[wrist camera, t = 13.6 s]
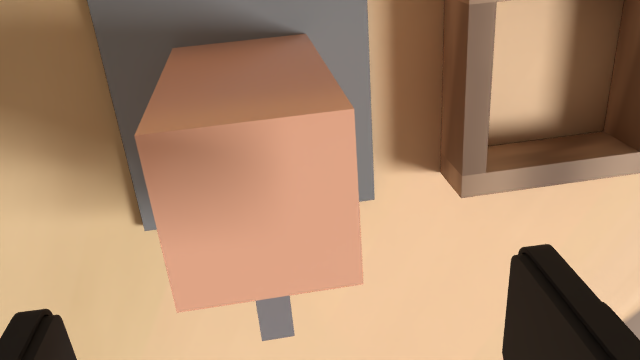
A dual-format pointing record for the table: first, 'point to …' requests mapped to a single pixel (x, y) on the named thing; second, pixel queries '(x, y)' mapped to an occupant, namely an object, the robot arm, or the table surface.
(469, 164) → the frame
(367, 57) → the rubber mat
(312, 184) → the peach block with tab
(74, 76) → the table surface
